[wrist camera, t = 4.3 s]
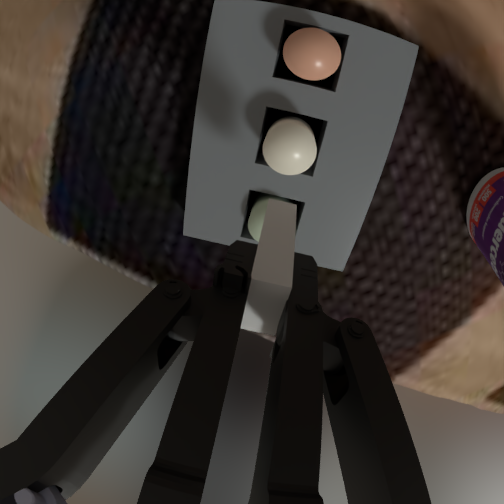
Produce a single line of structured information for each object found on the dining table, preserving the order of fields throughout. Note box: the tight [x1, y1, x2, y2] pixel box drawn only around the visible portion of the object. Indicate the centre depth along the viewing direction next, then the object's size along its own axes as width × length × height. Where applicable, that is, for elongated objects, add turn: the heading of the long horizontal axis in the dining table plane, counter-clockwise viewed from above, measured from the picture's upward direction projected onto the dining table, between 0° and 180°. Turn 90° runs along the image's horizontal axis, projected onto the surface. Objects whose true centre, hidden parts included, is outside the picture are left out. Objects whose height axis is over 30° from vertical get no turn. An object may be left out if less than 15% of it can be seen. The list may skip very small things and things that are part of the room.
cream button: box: [263, 116, 317, 175], centre depth 19 cm, size 3×3×3 cm
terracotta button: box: [283, 27, 341, 80], centre depth 16 cm, size 3×3×3 cm
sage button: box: [248, 193, 293, 242], centre depth 23 cm, size 3×3×3 cm
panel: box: [183, 0, 419, 271], centre depth 21 cm, size 18×13×2 cm
